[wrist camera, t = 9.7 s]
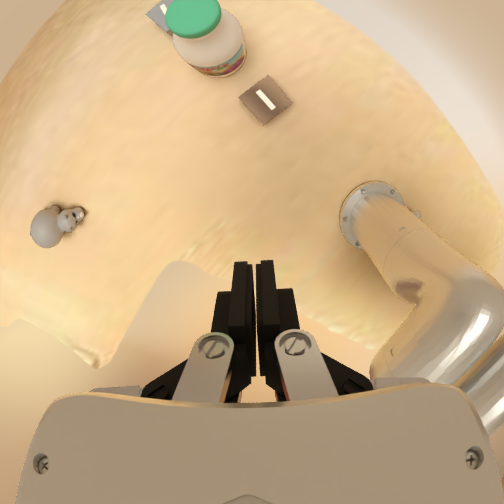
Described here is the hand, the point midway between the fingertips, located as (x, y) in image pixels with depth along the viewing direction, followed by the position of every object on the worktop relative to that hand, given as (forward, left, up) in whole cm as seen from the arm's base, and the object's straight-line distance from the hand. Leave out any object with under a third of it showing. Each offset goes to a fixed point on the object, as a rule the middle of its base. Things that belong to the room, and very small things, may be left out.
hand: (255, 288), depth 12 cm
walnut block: (-2, -9, -32) cm, 33 cm away
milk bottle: (+4, -17, -32) cm, 37 cm away
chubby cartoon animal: (+37, +6, -32) cm, 50 cm away
